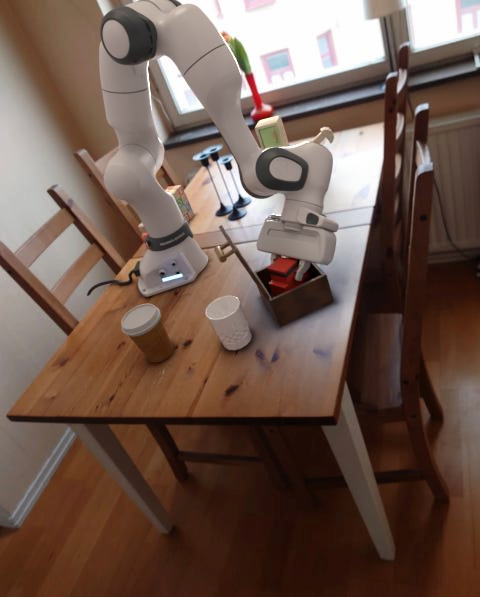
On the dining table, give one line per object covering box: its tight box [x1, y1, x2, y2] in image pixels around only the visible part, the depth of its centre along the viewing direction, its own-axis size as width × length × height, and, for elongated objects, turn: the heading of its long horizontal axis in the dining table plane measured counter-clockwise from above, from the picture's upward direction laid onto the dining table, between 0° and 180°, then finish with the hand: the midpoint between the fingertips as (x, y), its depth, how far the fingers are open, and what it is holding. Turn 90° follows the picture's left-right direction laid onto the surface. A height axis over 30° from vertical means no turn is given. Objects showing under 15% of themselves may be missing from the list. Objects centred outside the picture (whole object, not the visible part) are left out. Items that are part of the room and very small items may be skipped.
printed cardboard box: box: [137, 184, 196, 235], centre depth 161 cm, size 21×6×12 cm, turn 152°
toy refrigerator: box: [254, 114, 291, 151], centre depth 162 cm, size 8×7×21 cm
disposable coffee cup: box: [120, 302, 174, 363], centre depth 110 cm, size 10×10×12 cm
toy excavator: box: [311, 126, 335, 144], centre depth 150 cm, size 9×17×17 cm, turn 89°
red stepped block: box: [268, 256, 310, 296], centre depth 108 cm, size 8×5×8 cm, turn 135°
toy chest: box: [253, 256, 335, 328], centre depth 109 cm, size 14×14×8 cm
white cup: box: [205, 295, 253, 351], centre depth 104 cm, size 8×8×10 cm
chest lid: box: [213, 224, 270, 301], centre depth 103 cm, size 14×14×4 cm
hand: (285, 277), depth 107 cm, fingers closed on red stepped block, 5 cm apart
